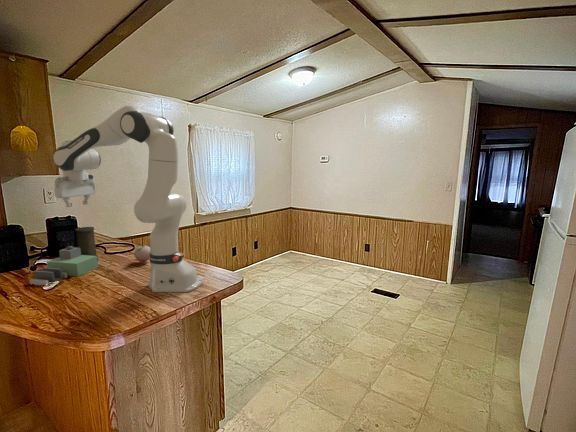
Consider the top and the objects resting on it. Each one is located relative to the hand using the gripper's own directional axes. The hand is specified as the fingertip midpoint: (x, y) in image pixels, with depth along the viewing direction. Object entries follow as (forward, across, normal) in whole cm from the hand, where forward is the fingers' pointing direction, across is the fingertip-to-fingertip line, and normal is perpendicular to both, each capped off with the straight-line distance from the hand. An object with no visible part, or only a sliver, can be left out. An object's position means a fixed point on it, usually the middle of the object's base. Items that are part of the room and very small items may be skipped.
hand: (77, 205), depth 148 cm
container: (+31, +9, +6) cm, 33 cm away
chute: (+31, -17, +2) cm, 36 cm away
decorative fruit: (+31, +14, -23) cm, 41 cm away
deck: (+31, -10, +2) cm, 33 cm away
